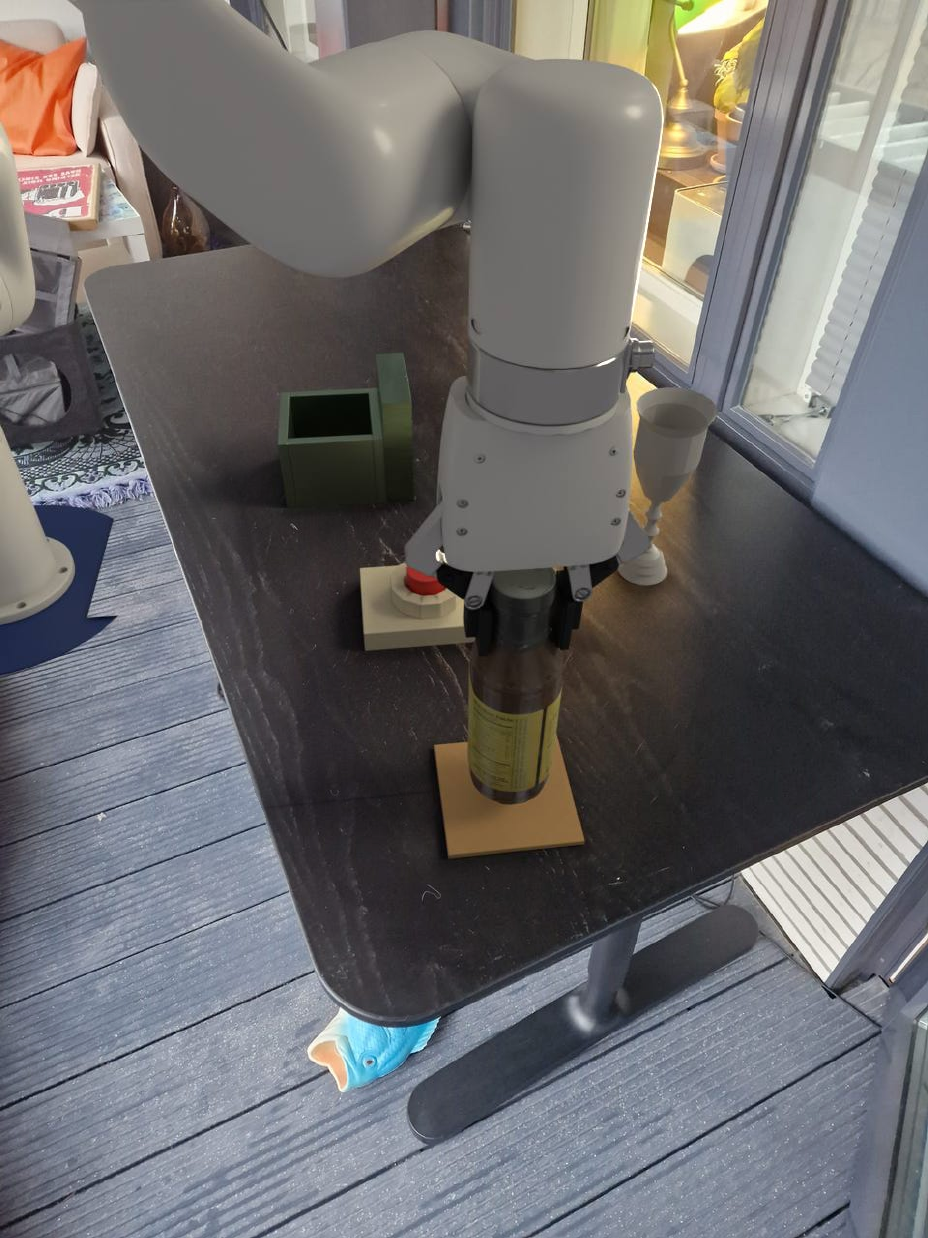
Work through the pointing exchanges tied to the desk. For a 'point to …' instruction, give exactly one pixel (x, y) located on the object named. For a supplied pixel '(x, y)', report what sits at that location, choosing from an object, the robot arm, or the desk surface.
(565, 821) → the mat
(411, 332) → the desk surface
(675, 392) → the chalice
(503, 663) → the sauce bottle
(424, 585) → the button
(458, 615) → the control block
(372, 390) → the green open box holder
